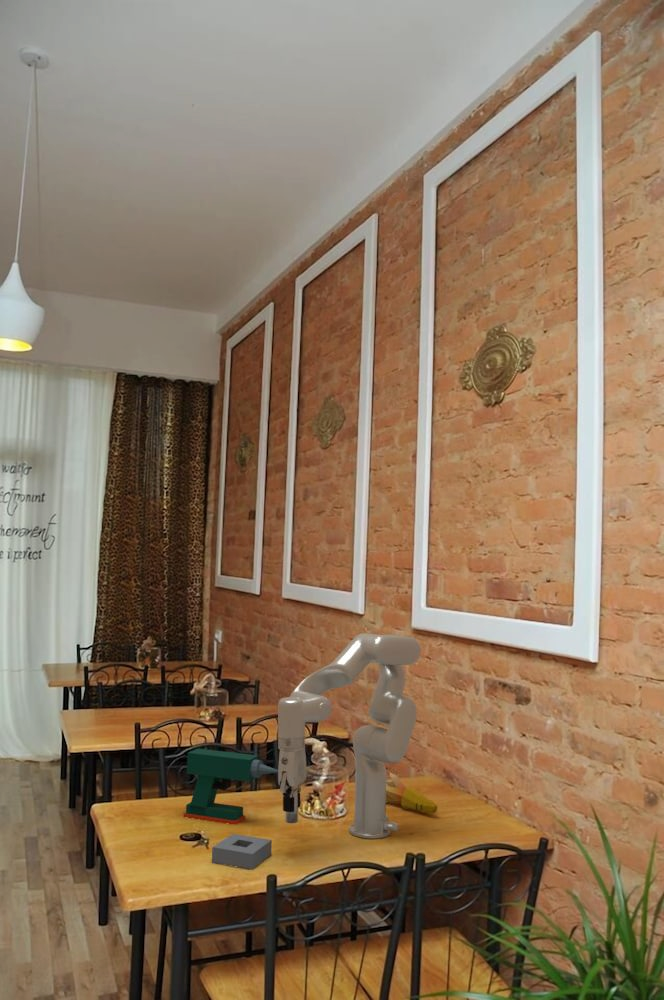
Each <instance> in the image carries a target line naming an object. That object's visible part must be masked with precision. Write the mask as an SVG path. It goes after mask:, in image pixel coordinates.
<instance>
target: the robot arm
mask: <svg viewBox="0 0 664 1000" xmlns="http://www.w3.org/2000/svg"><path fill="white" fill-rule="evenodd" d="M421 649H422V648H421V645H420V643H419V641H418V640H417V639H416V638H414V637H411V636H404V635H396V634H377V633H376V634H375V633H368V632H367V633H366V632H364V633H359V634H357V635H356V636H355V637H353V638H352V640H351V641H350V642H349V643H348V644H347V645H346V647H344V649H343V650H342V651H341V652H340V653H339V654H338V655H337V656H336V658H335V659H334V660H333V661H332V662H331V663H330V664H328V665H326V666H324V667H322V668H320V669H317V670H316V671H315V672H312V673H311V674H309V675H308V676H306V677H305V678H304V679H303V680H302V681H301V682H300V683H299V684H298V685H297V686H296V687H295V689H293V691H292V692H291V694H290V696H288V697H287V696H286V697H282V698H280V699H279V700H278V704H277V705H278V706H277V716H278V717H277V724H278V726H277V730H278V731H277V735H278V736H277V738H278V739H277V741H278V743H277V746H278V747H277V748H278V750H279V753H278V755H279V756H278V766H277V767H278V769H277V770H278V772H277V776H278V777H277V779H278V780H277V782H278V785H279V786H280V787H279V791H280V792H281V793H282V810H283V812H285V813H286V812H294V797H293V788H294V787H296V786H298V809H299V808H300V807H301V791H302V788H301V787H302V786H301V785H302V783H303V782H305V780H306V779H307V777H308V776H307V775H308V773H307V757H306V756H307V755H306V749H305V748H306V736H305V735H306V723H320V722H321V723H322V722H323V721H326V720H327V719H328V718H329V717H330V716H331V714H332V711H333V706H332V705H333V704H332V702H331V701H330V699H329V698H327V697H326V696H324V695H322V694H324V693H326V692H328V691H330V690H334V689H339V688H343V687H346V686H350V685H352V683H354V681H356V680H357V679H358V677H359V676H360V675H361V674H362V672H363V671H364V670H365V669H366V668H367V667H368V665H370V663H371V664H372V663H375V664H378V668H379V673H378V674H379V675H378V679H377V683H376V685H375V689H374V691H373V694H372V696H371V701H370V703H369V706H368V716H369V717H370V719H371V720H372V721H374V722H377V723H378V724H382V725H387V728H384V727H380V726H376V725H371V724H367V725H362V726H360V727H359V728H357V730H356V731H355V732H354V735H353V739H352V746H353V753H354V760H355V761H354V762H355V778H354V780H355V782H354V783H355V786H354V820H353V823H351V824H350V825H349V826H348V832H349V833H350V834H351V835H353V836H355V837H358V838H362V839H382V838H385V837H387V836H390V834H391V831H393V832H399V829H400V825H399V824H398V822H397V821H396V822H395V821H390V820H389V816H387V813H386V809H387V808H386V806H387V802H386V786H387V784H386V781H388V780H387V767H386V764H391V765H393V764H394V765H395V764H397V763H400V762H401V761H402V760H403V758H404V756H405V754H406V753H407V749H408V747H409V744H410V740H411V737H412V734H413V731H414V727H415V725H416V723H417V722H416V721H417V717H418V716H417V714H418V712H417V709H418V708H417V706H416V703H415V701H414V700H413V699H412V698H411V697H409V696H405V695H403V693H404V689H405V686H406V685H405V684H406V680H407V679H406V673H405V672H406V671H405V670H404V666H410V665H413V664H415V663H416V662H417V661H419V659H420V657H421V652H422V650H421ZM287 783H289V785H287ZM287 788H290V791H289V789H287Z"/></svg>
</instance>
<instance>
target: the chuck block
mask: <svg viewBox="0 0 664 1000" xmlns="http://www.w3.org/2000/svg"><path fill="white" fill-rule="evenodd" d="M272 842H273V840H272V839H268V838H262V837H258V836H257V837H255V836H250V835H243V834H236V833H232V834H230V835H228V836H227V837H226V838H224V839H223V840H221V841H219V842H218V843H216V844H215V845H213V846H212V849H211V863H212V862H213V863H212V864H217V863H218V864H217V865H223V864H226V865H225V866H229V865H232V866H231V867H234V866H237V867H236V868H240V867H241V869H246V870H250V871H251V870H253V869H255V868H256V867H257V866H259V865H260V864H261V863H263V862H264V861H265V860H267V859H268V858H269V857H270V856H271V855H272V845H273V844H272ZM262 861H263V862H262ZM258 864H259V865H258Z"/></svg>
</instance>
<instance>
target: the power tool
mask: <svg viewBox="0 0 664 1000" xmlns="http://www.w3.org/2000/svg"><path fill="white" fill-rule="evenodd" d="M186 762H187V763H186V764H187V765H186V774H189V775H196V776H197V778H196V782H195V785H194V786H195V787H194V789H193V793H192V797H191V801H190V802H188V803H187V804H186V806H185V812H184V813H183V818H185V817H188V818H187V819H192V818H194V819H193V820H198V819H200V820H199V821H205V820H206V822H212V821H213V823H219V822H220V824H225V823H229V824H228V825H232V824H235V825H234V826H236V824H237V825H238V824H240V823H242V822H243V821H245V820H246V815H244V806H240V805H239V806H238V805H233V804H224V803H218V802H216V796H217V794H218V790H221V791H223V790H224V791H225V790H227V789H229V788H231V787H232V780H234V781H240V782H241V781H242V782H250V781H253V780H255V779H260V778H262V776H263V775H266V774H268V775H269V774H276V773H277V774H278V769H276V768H273V767H271V766H269V765H268V766H267V765H266V764H264V762H263V760H260V759H259V755H258V754H257V755H256V754H249V753H239V752H231V751H222V750H213V749H206V748H205V749H204V748H196V749H193V750H190V751H189V752H187V761H186Z"/></svg>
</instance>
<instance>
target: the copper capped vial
mask: <svg viewBox="0 0 664 1000" xmlns="http://www.w3.org/2000/svg"><path fill="white" fill-rule="evenodd" d="M287 785H289V783H287ZM287 789H289V791H290V788H287ZM293 797H294V812H286V811H285V823H287V824H296V823H298V821H299V812H298V811H299V810H298V809H299V808H298V786H296V787H294V788H293Z"/></svg>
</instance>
